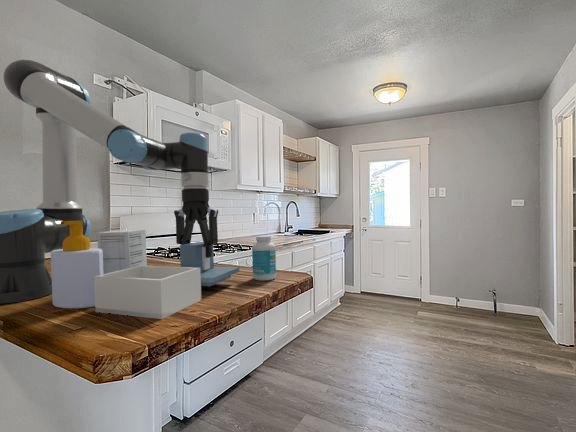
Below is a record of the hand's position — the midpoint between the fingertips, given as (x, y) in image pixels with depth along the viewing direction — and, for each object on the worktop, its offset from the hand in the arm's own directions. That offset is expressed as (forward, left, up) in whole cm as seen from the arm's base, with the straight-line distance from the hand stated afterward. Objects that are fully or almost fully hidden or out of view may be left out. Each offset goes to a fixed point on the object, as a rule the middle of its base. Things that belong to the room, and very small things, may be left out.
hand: (197, 268), depth 93 cm
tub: (0, -19, -5) cm, 20 cm away
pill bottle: (+15, +14, -5) cm, 21 cm away
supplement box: (-20, -7, -5) cm, 22 cm away
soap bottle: (-19, -22, -5) cm, 30 cm away
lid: (0, 0, -3) cm, 3 cm away
